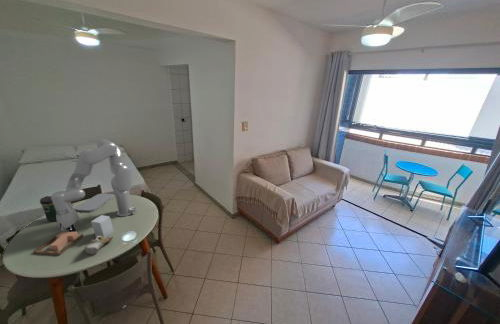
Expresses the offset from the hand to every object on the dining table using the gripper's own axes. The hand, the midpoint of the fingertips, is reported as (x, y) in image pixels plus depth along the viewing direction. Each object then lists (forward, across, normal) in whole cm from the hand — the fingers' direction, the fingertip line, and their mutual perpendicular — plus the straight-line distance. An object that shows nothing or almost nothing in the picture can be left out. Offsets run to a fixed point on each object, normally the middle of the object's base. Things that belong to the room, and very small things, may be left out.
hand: (73, 232), depth 129 cm
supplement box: (+1, -2, +21) cm, 21 cm away
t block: (+1, +7, +1) cm, 7 cm away
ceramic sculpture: (+2, +9, +26) cm, 27 cm away
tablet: (+2, -38, -16) cm, 41 cm away
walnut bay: (+1, +8, 0) cm, 9 cm away
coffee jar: (+1, -14, -28) cm, 32 cm away
